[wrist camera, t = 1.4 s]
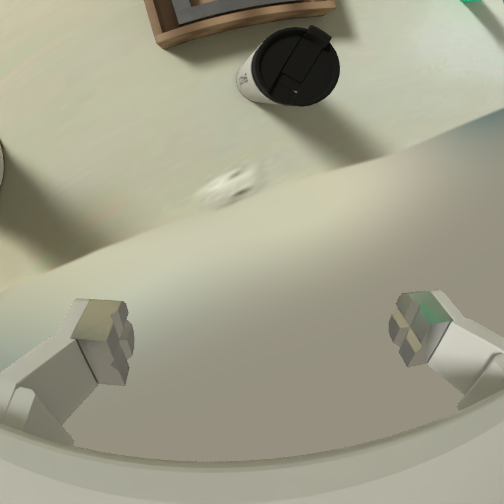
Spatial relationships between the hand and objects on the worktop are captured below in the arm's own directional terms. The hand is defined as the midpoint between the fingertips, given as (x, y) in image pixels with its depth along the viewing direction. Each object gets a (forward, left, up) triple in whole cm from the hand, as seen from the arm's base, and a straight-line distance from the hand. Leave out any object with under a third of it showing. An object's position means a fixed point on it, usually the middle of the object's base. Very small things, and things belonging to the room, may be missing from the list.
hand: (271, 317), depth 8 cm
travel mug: (+7, +7, -35) cm, 36 cm away
